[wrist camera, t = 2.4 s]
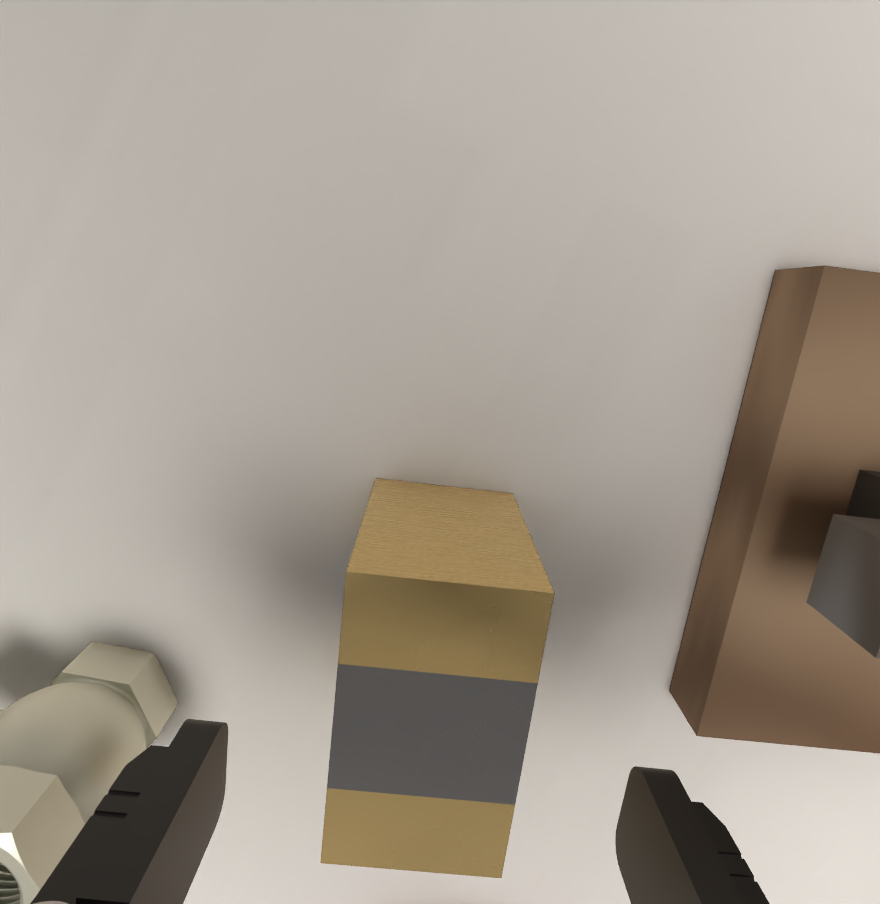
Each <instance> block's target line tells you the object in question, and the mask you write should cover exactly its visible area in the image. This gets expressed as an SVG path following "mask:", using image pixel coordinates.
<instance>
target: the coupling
mask: <svg viewBox="0 0 880 904" xmlns="http://www.w3.org/2000/svg"><path fill="white" fill-rule="evenodd" d="M553 598H554V591H553V589H552V586H551V584H550V581H549V579H548V577H547V574H546V572H545V569H544V567H543V565H542V562H541V560H540V557H539V555H538V553H537V550H536V548H535V546H534V543H533V541H532V538H531V536H530V534H529V531H528V529H527V526H526V524H525V522H524V519H523V517H522V514H521V512H520V510H519V507H518V505H517V502H516V500H515V498H514V495H513V494H512V493H503V492H494V491H486V490H477V489H468V488H459V487H450V486H441V485H432V484H423V483H414V482H405V481H396V480H387V479H378V478H376V480H375V483H374V486H373V489H372V492H371V496H370V499H369V502H368V505H367V508H366V511H365V514H364V517H363V521H362V524H361V527H360V530H359V533H358V536H357V539H356V542H355V545H354V549H353V552H352V555H351V558H350V561H349V564H348V567H347V570H346V579H345V590H344V602H343V613H342V624H341V636H340V647H339V658H338V670H337V681H336V693H335V704H334V715H333V727H332V738H331V749H330V761H329V772H328V784H327V795H326V806H325V818H324V829H323V840H322V852H321V863H326V864H338V865H350V866H362V867H374V868H386V869H398V870H410V871H422V872H434V873H446V874H458V875H470V876H482V877H494V878H501V877H502V871H503V866H504V861H505V855H506V850H507V845H508V839H509V834H510V829H511V823H512V818H513V812H514V807H515V802H516V796H517V791H518V786H519V780H520V775H521V770H522V764H523V759H524V754H525V748H526V743H527V738H528V732H529V727H530V721H531V716H532V711H533V705H534V700H535V695H536V689H537V684H538V679H539V673H540V668H541V663H542V657H543V652H544V647H545V641H546V636H547V630H548V625H549V620H550V614H551V609H552V604H553Z"/></svg>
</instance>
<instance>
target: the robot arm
mask: <svg viewBox="0 0 880 904" xmlns="http://www.w3.org/2000/svg"><path fill="white" fill-rule="evenodd" d="M227 744H228V725H227V723H223V722H213V721H204V720H194V719H187V720H186V721H185V722H184V723H183V725H182V726H181V728H180V729H179V731H178V733H177V734H176V736H175V738H174V739H173V741H172V742H171V744H170V746H169V747H162V746H152V745H151V746H150V747H148V748H147V749H146V750H145V751H143V752H142V753H141V754H139V755H138V756H137V757H136V758H134V759H133V760H132V761H130V762H129V763H128V764H127V765H125V767H124V768H123V770H122V771H121V773H120V774H119V776H118V777H117V779H116V780H115V781H114V783H113V784H112V786H111V787H110V789H109V792H108V794H107V795H105V796H104V798H103V799H102V800H101V802H100V803H99V805H98V806H97V808H96V809H95V812H94V815H93V816H91V817H90V818H89V819H88V821H87V822H86V824H85V825H84V827H83V828H82V830H81V831H80V833H79V834H78V835H77V837H76V838H75V840H74V841H73V843H72V844H71V846H70V847H69V849H68V850H67V852H66V853H65V854H64V856H63V857H62V859H61V860H60V862H59V863H58V865H57V866H56V868H55V869H54V870H53V872H52V873H51V875H50V876H49V878H48V879H47V881H46V882H45V884H44V885H43V887H42V888H41V889H40V891H39V892H38V894H37V895H36V897H35V898H34V899H33V901H32V902H31V903H30V904H183V902H184V900H185V897H186V895H187V893H188V890H189V888H190V886H191V883H192V881H193V879H194V876H195V874H196V872H197V869H198V867H199V865H200V862H201V860H202V858H203V855H204V853H205V851H206V848H207V846H208V844H209V841H210V839H211V837H212V834H213V832H214V830H215V827H216V825H217V822H218V819H219V816H220V812H221V809H222V805H223V800H224V794H225V784H226V764H227ZM616 854H617V860H618V865H619V868H620V871H621V874H622V877H623V880H624V883H625V886H626V889H627V892H628V895H629V898H630V901H631V904H769V902H768V900H767V899H766V897H765V895H764V893H763V892H762V890H761V888H760V886H759V884H758V883H757V882H755V881H754V876H753V874H752V872H751V870H750V869H749V867H748V865H747V863H746V862H745V860H744V859H742V858H741V853H740V851H739V849H738V847H737V846H736V844H735V842H734V840H733V839H732V837H731V835H730V833H729V832H728V830H727V828H726V826H725V825H724V824H723V823H722V822H721V821H720V820H719V819H718V818H717V817H716V816H715V815H714V814H713V813H712V812H711V811H710V810H709V809H708V808H707V807H706V806H705V805H704V804H703V803H700V802H691V800H690V798H689V797H688V795H687V793H686V791H685V789H684V787H683V785H682V783H681V781H680V779H679V778H678V776H677V774H676V773H675V772H674V771H672V770H665V769H655V768H645V767H633V768H632V770H631V772H630V774H629V778H628V782H627V786H626V791H625V795H624V799H623V803H622V807H621V812H620V816H619V820H618V824H617V829H616Z"/></svg>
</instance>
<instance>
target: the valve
mask: <svg viewBox="0 0 880 904" xmlns="http://www.w3.org/2000/svg"><path fill="white" fill-rule="evenodd" d="M177 705H178V701H177V699H176V696H175V694H174V692H173V690H172V688H171V686H170V684H169V682H168V680H167V678H166V676H165V674H164V672H163V670H162V668H161V666H160V664H159V662H158V660H157V658H156V656H155V655H154V654H153V653H151V652H146V651H141V650H136V649H131V648H125V647H120V646H115V645H109V644H104V643H99V642H91V643H90V644H89V645H88V646H87V647H86V648H85V649H84V650H83V651H82V652H81V653H80V654H79V655H78V656H77V657H76V658H75V659H74V660H73V661H72V662H71V663H70V664H69V665H68V666H67V667H66V668H65V669H64V670H63V671H62V672H61V673H60V674H59V675H58V676H57V677H56V679H55V680H54V681H53V682H52V683H51V684H50V685H49V687H45V688H43V689H40V690H37V691H35V692H32V693H30V694H28V695H26V696H24V697H23V698H21V699H19V700H17V701H16V702H14V703H12V704H11V705H9V706H8V707H7V708H5V709H3V710H1V709H0V904H30V903H31V902H32V901H33V899H34V898H35V897H36V895H37V894H38V892H39V891H40V889H41V888H42V887H43V885H44V884H45V882H46V881H47V879H48V878H49V876H50V875H51V873H52V872H53V870H54V869H55V868H56V866H57V865H58V863H59V862H60V860H61V859H62V857H63V856H64V854H65V853H66V852H67V850H68V849H69V847H70V846H71V844H72V843H73V841H74V840H75V838H76V837H77V835H78V834H79V833H80V831H81V830H82V828H83V827H84V825H85V824H86V822H87V821H88V819H89V818H90V817H91V816H93V815H94V812H95V809H96V808H97V806H98V805H99V803H100V802H101V800H102V799H103V798H104V796H105V795H107V794H108V792H109V789H110V787H111V786H112V784H113V783H114V781H115V780H116V779H117V777H118V776H119V774H120V773H121V771H122V770H123V768H124V767H125V765H127V764H128V763H129V762H130V761H132V760H133V759H134V758H136V757H137V756H138V755H139V754H141V753H142V752H143V751H145V750H146V749H147V748H148V746H149V745H150V744H151V743H152V742H153V741H154V740H155V739H156V738H157V737H158V735H159V733H160V732H161V730H162V729H163V727H164V726H165V724H166V722H167V721H168V719H169V718H170V716H171V714H172V713H173V711H174V710H175V708H176V707H177Z"/></svg>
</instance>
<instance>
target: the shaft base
mask: <svg viewBox="0 0 880 904" xmlns="http://www.w3.org/2000/svg"><path fill="white" fill-rule="evenodd" d="M669 691H670V693H671V694H672V696H673V698H674V699H675V701H676V703H677V704H678V706H679V708H680V709H681V711H682V713H683V714H684V716H685V717H686V719H687V721H688V722H689V724H690V726H691V727H692V729H693V731H694V732H695V734H696V736H702V737H713V738H724V739H734V740H745V741H755V742H766V743H776V744H787V745H797V746H808V747H818V748H829V749H839V750H850V751H860V752H871V753H880V273H877V272H869V271H861V270H854V269H846V268H839V267H831V266H816V267H805V268H794V269H783V270H775V274H774V278H773V282H772V286H771V290H770V294H769V298H768V302H767V306H766V310H765V314H764V318H763V322H762V326H761V330H760V334H759V338H758V342H757V346H756V350H755V354H754V358H753V361H752V365H751V369H750V373H749V377H748V381H747V385H746V389H745V393H744V397H743V401H742V405H741V409H740V413H739V417H738V421H737V425H736V429H735V433H734V437H733V441H732V445H731V449H730V453H729V457H728V461H727V464H726V468H725V472H724V476H723V480H722V484H721V488H720V492H719V496H718V500H717V504H716V508H715V512H714V516H713V520H712V524H711V528H710V532H709V536H708V540H707V544H706V548H705V552H704V556H703V560H702V564H701V568H700V571H699V575H698V579H697V583H696V587H695V591H694V595H693V599H692V603H691V607H690V611H689V615H688V619H687V623H686V627H685V631H684V635H683V639H682V643H681V647H680V651H679V655H678V659H677V663H676V667H675V671H674V675H673V678H672V682H671V686H670V690H669Z"/></svg>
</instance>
